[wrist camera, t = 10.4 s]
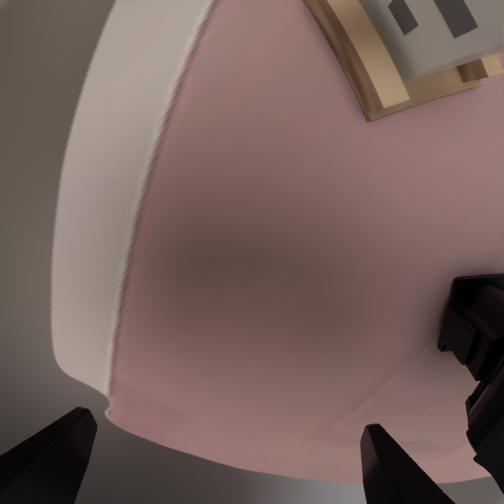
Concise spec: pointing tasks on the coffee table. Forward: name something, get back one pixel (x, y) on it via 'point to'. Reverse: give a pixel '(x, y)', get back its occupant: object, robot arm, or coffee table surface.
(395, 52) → the white rectangular box
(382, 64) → the slot holder
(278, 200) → the coffee table surface
